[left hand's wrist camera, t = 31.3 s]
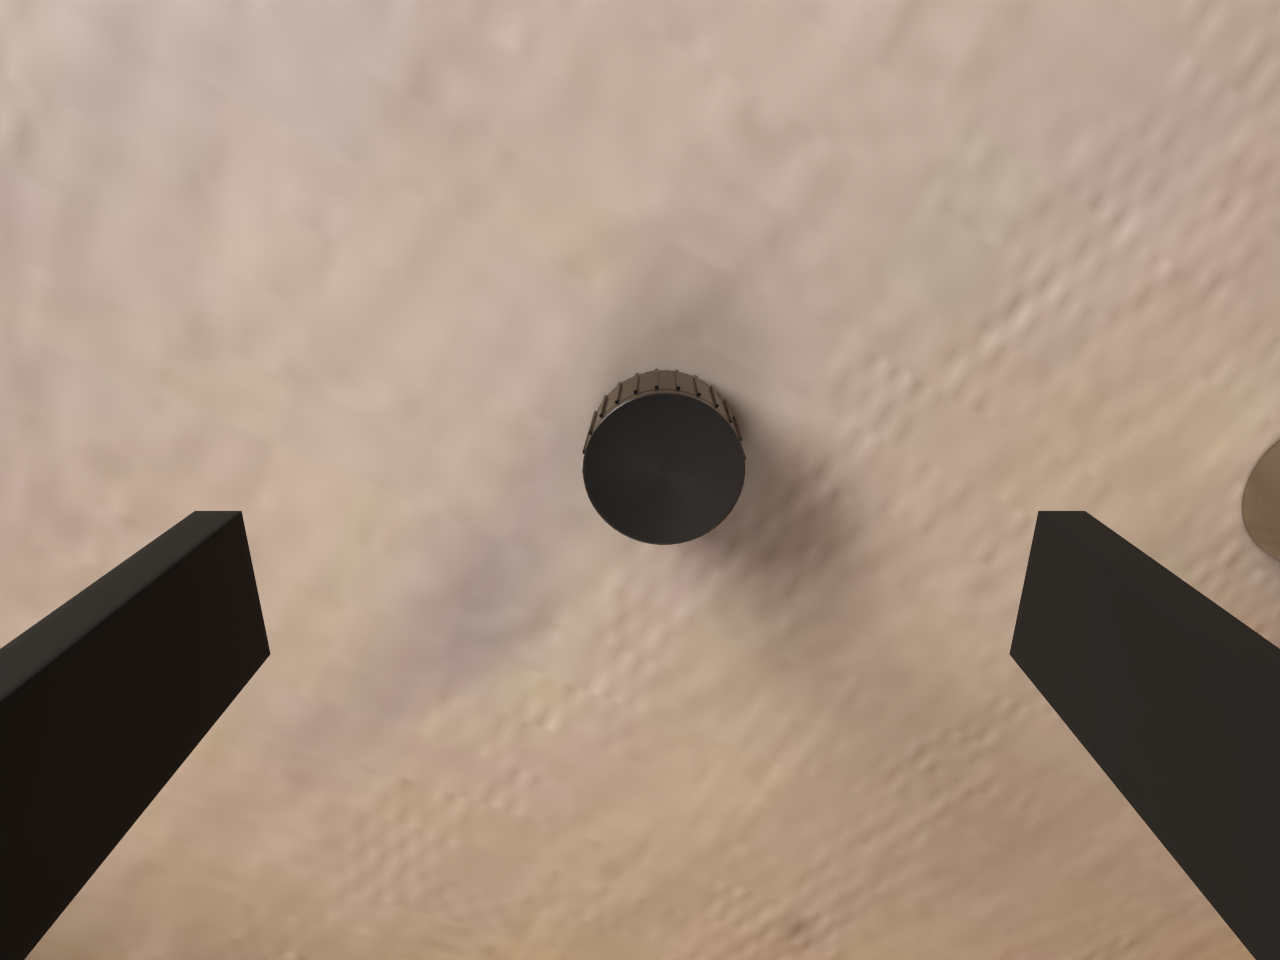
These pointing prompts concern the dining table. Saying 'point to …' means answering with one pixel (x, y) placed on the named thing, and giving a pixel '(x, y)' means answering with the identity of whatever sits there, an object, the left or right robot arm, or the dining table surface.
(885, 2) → the dining table surface
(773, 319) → the dining table surface
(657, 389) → the cap
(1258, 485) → the bottle
